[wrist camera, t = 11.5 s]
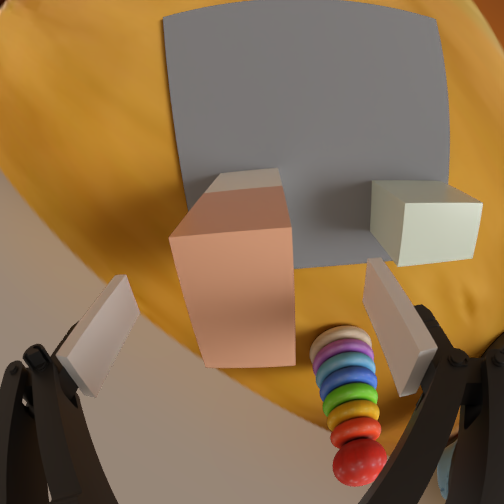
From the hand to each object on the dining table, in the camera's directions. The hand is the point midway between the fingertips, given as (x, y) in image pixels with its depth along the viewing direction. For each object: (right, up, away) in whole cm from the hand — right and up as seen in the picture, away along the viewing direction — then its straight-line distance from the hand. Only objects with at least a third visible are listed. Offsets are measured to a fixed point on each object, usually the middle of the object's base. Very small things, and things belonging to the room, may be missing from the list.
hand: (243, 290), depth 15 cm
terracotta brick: (0, +2, +5) cm, 5 cm away
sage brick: (+16, +7, +9) cm, 19 cm away
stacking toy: (+11, -10, +18) cm, 24 cm away
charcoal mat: (+7, +12, +7) cm, 16 cm away
